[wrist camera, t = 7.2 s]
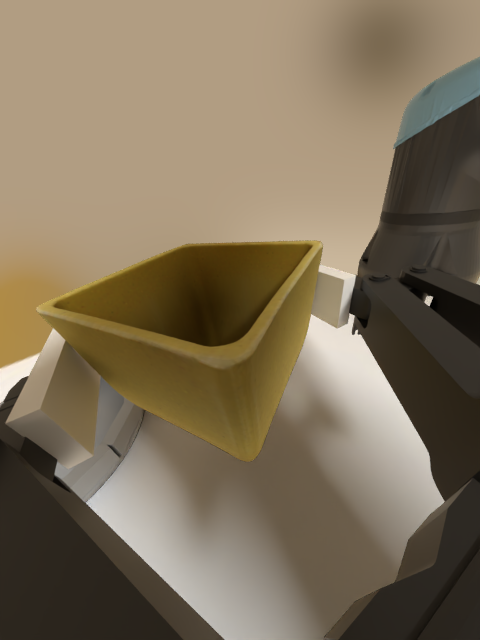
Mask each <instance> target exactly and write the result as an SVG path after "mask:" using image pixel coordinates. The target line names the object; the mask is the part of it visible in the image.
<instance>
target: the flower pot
mask: <svg viewBox="0 0 480 640" xmlns="http://www.w3.org/2000/svg"><path fill="white" fill-rule="evenodd" d="M322 249H323V245H322V242H321V241H277V242H242V243H201V244H185V245H182V246H180V247H177V248H174V249H171V250H169V251H166V252H163V253H161V254H159V255H156V256H153V257H151V258H149V259H146V260H144V261H141V262H139V263H137V264H134V265H132V266H129V267H127V268H125V269H123V270H120V271H118V272H115V273H113V274H110V275H108V276H106V277H103V278H101V279H99V280H96V281H94V282H92V283H90V284H87V285H84V286H82V287H79V288H77V289H75V290H73V291H70V292H68V293H66V294H64V295H61V296H59V297H57V298H55V299H52V300H51V301H48V302H46V303H44V304H42V305H40V306H38V307H37V308H36V311H37V312H38V313H39V314H40V315H41V316H42V317H43V318H44V319H45V320H46V321H47V322H48V323H49V324H50V325H51V326H52V327H53V328H54V329H55V330H56V331H57V332H58V333H59V334H60V335H61V336H62V337H63V338H64V339H65V340H66V341H67V342H68V344H69V345H70V346H71V347H72V348H73V349H74V350H75V351H76V352H77V353H78V354H79V355H80V356H81V357H82V358H83V359H84V360H85V361H86V362H87V363H88V364H89V365H90V366H91V367H92V368H93V369H94V370H95V371H96V372H97V373H98V374H99V375H100V376H101V377H102V378H103V379H104V380H105V381H106V382H107V383H108V384H109V385H110V386H111V387H112V388H113V389H115V390H116V391H117V392H118V393H119V394H121V395H122V396H123V397H125V398H126V399H128V400H129V401H131V402H132V403H134V404H135V405H137V406H139V407H140V408H142V409H144V410H146V411H148V412H150V413H152V414H154V415H156V416H158V417H160V418H162V419H164V420H166V421H168V422H170V423H172V424H174V425H176V426H178V427H180V428H182V429H184V430H186V431H187V432H189V433H191V434H193V435H195V436H197V437H199V438H201V439H203V440H205V441H207V442H208V443H210V444H212V445H214V446H216V447H218V448H219V449H221V450H223V451H225V452H227V453H228V454H230V455H232V456H234V457H236V458H238V459H240V460H242V461H245V462H249V461H252V460H254V459H255V458H256V457H257V456H258V454H259V453H260V451H261V448H262V446H263V444H264V441H265V438H266V435H267V433H268V430H269V427H270V425H271V422H272V419H273V417H274V414H275V412H276V409H277V407H278V404H279V402H280V399H281V397H282V394H283V392H284V389H285V387H286V384H287V382H288V379H289V377H290V375H291V372H292V370H293V367H294V365H295V363H296V360H297V358H298V356H299V353H300V351H301V349H302V346H303V343H304V340H305V337H306V334H307V330H308V326H309V321H310V316H311V310H312V304H313V299H314V293H315V288H316V282H317V277H318V271H319V266H320V261H321V255H322Z"/></svg>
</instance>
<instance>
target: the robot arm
mask: <svg viewBox="0 0 480 640" xmlns="http://www.w3.org/2000/svg"><path fill="white" fill-rule="evenodd" d="M395 148H396V149H395ZM393 149H395V153H394V158H393V163H392V167H391V171H390V176H389V181H388V185H387V189H386V194H385V198H384V203H383V208H382V213H381V217H380V222H379V225H378V228H377V230H376V232H375V233H374V235H373V237H372V239H371V241H370V242H369V244H368V246H367V248H366V250H365V252H364V253H363V255H362V257H361V259H360V262H359V267H358V276H359V277H358V276H356V275H354V274H351V273H347V272H344V271H341V270H337V269H334V268H330V267H327V266H323V265H320V266H319V271H318V277H317V282H316V288H315V293H314V299H313V304H312V310H311V314H312V315H314V316H316V317H318V318H319V319H321V320H323V321H325V322H327V323H328V324H330V325H332V326H334V327H335V328H337V329H338V328H340V327H341V326H343V325H345V324H347V323H348V318H349V313H350V314H353V315H355V318H354V323H353V328H352V335H354V334H355V331H356V330H358V334H361V335H362V337H363V339H364V341H365V342H366V344H367V346H368V347H369V349H370V351H371V353H372V354H373V356H374V358H375V360H376V361H377V363H378V365H379V367H380V368H381V370H382V372H383V373H384V375H385V377H386V379H387V380H388V382H389V384H390V386H391V387H392V389H393V391H394V393H395V394H396V396H397V398H398V399H399V401H400V403H401V405H402V406H403V408H404V410H405V412H406V413H407V415H408V417H409V419H410V420H411V422H412V424H413V425H414V427H415V429H416V431H417V432H418V434H419V436H420V438H421V439H422V441H423V443H424V444H425V446H426V448H427V450H428V452H429V456H430V464H431V472H432V476H433V479H434V481H435V484H436V486H437V488H438V490H439V492H440V494H441V496H442V497H443V499H444V501H445V502H444V503H443V504H442V505H441V506H440V507H439V508H437V509H436V510H435V511H434V512H433V513H432V514H430V515H429V516H428V518H427V519H426V520H425V521H424V522H423V523H422V525H421V526H420V527H419V528H418V529H417V530H416V532H415V533H414V534H413V535H412V536H411V537H410V538H409V540H408V542H407V546H406V549H405V552H404V556H403V559H402V562H401V566H400V569H399V572H398V575H397V579H396V581H395V583H393V584H390V585H388V586H386V587H384V588H381V589H379V590H377V591H375V592H373V593H371V594H369V595H367V596H365V597H363V598H361V599H359V600H357V601H355V602H354V603H353V605H352V606H351V607H350V608H349V609H348V610H347V612H346V613H345V614H344V615H343V616H342V617H341V618H340V620H339V621H338V622H337V623H336V624H335V625H334V627H333V628H332V629H331V630H330V631H329V632H328V634H327V635H326V636H325V637H324V638H325V640H480V285H478V284H476V282H477V280H478V278H479V276H480V57H478V58H476V59H474V60H472V61H470V62H468V63H466V64H464V65H462V66H460V67H458V68H456V69H454V70H452V71H451V72H449V73H447V74H445V75H443V76H442V77H440V78H438V79H437V80H435V81H434V82H432V83H430V84H429V85H427V86H426V87H425V88H423V89H422V90H421V91H420V92H418V93H417V94H416V95H415V96H414V97H413V98H412V100H411V101H410V102H409V104H408V105H407V107H406V109H405V111H404V114H403V117H402V121H401V125H400V129H399V133H398V137H397V141H396V143H395V144H394V147H393ZM427 295H430V296H432V297H433V299H432V302H431V304H430V306H428V305H426V304H425V303H424V301H425V299H426V296H427ZM100 377H101V376H100V375H99V374H98V373H97V372H96V371H95V370H94V369H93V368H92V367H91V366H90V365H89V364H88V363H87V362H86V361H85V360H84V359H83V358H82V357H81V356H80V355H79V354H78V353H77V352H76V351H75V350H74V349H73V348H72V347H71V346H70V345H69V344H68V342H67V341H66V340H65V339H64V338H63V337H62V336H61V335H60V334H59V333H58V332H57V331H56V330H55V329H54V328H53V330H52V332H51V334H50V336H49V338H48V340H47V342H46V344H45V346H44V348H43V350H42V352H41V354H40V356H39V357H38V359H37V361H36V363H35V365H34V367H33V369H32V371H31V373H30V375H29V376H27V377H24V378H22V379H21V380H20V381H19V382H18V383H17V384H16V385H15V386H14V387H13V388H12V389H11V390H10V391H9V392H8V394H7V396H6V398H5V399H4V401H3V402H4V403H3V404H2V405H1V406H0V640H224V639H223V638H222V637H221V636H220V635H219V634H218V633H217V632H216V631H215V630H214V629H213V628H212V627H211V626H210V625H209V624H208V623H207V622H206V621H205V620H204V619H203V618H202V617H201V616H200V615H199V614H198V613H197V612H196V611H195V610H194V609H193V608H192V607H191V606H190V605H189V604H188V603H187V602H186V601H185V600H184V599H183V598H182V597H181V596H179V595H178V594H177V593H176V592H175V591H174V590H173V589H172V588H171V587H170V586H169V585H168V584H167V583H166V582H165V581H164V580H163V579H162V578H161V577H160V576H159V575H158V574H157V573H156V572H155V571H154V570H153V569H152V568H151V567H150V566H149V565H148V564H147V563H146V562H145V561H144V560H143V559H142V558H141V557H140V556H139V555H138V554H137V553H136V552H135V551H134V550H133V549H132V548H131V547H130V546H129V545H128V544H127V543H126V542H125V541H124V540H123V539H122V538H120V537H119V536H118V535H117V534H116V533H115V532H114V531H113V530H112V529H111V528H110V527H109V526H108V525H107V524H106V523H105V522H104V521H103V520H102V519H101V518H100V517H99V516H98V515H97V514H96V513H95V512H94V511H93V510H92V509H91V508H90V507H89V506H88V505H87V504H86V503H85V502H84V501H83V500H82V499H81V498H80V497H79V496H78V495H77V494H76V493H75V492H74V491H73V490H72V489H71V488H70V487H69V486H68V485H67V484H66V483H65V482H64V481H63V480H62V479H60V478H59V477H57V476H56V475H54V474H55V469H56V465H57V462H59V463H60V464H62V465H63V466H64V467H66V468H67V469H70V468H72V467H73V466H75V465H77V464H79V463H81V462H83V461H85V460H87V459H89V458H91V457H93V456H94V445H95V434H96V422H97V411H98V399H99V388H100Z"/></svg>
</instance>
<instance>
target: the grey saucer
mask: <svg viewBox="0 0 480 640" xmlns="http://www.w3.org/2000/svg"><path fill="white" fill-rule="evenodd" d="M3 403H4V402H1V403H0V406H1V405H2V404H3ZM143 414H144V409H142V408H140V407H139V406H137V405H135V404H134V403H132V402H131V401H129V400H128V399H126V398H125V397H123V396H122V395H121V394H119V393H118V392H117V391H116V390H115V389H113V388H112V387H111V386H110V385H109V384H108V383H107V382H106V381H105V380H104V379H103V378H102V377H100V388H99V399H98V411H97V422H96V434H95V445H94V456H93V457H91V458H89V459H87V460H85V461H83V462H81V463H79V464H77V465H75V466H73V467H72V468H70V469H67V468H66V467H64V466H63V465H62V464H60V463H59V462H57V465H56V469H55V474H54V475H56V476H57V477H59V478H60V479H62V480H63V481H64V482H65V483H66V484H67V485H68V486H69V487H70V488H71V489H72V490H73V491H74V492H75V493H76V494H77V495H78V496H79V497H80V498H81V499H82V500H83V501H84V502H85V503H86V502H87V501H88V500H89V499H90V498H91V497H92V496H93V495H94V494H95V493H96V492H97V491H98V490H99V489H100V488H101V486H102V485H103V484H104V483H105V482H106V481H107V479H108V478H109V477H110V476H111V475H112V474H113V472H114V471H115V470H116V468H117V467H118V466H119V464H120V463H121V462H122V460H123V459H124V457H125V455H126V454H127V452H128V451H129V449H130V447H131V445H132V443H133V442H134V440H135V438H136V436H137V433H138V431H139V428H140V425H141V422H142V418H143Z"/></svg>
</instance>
